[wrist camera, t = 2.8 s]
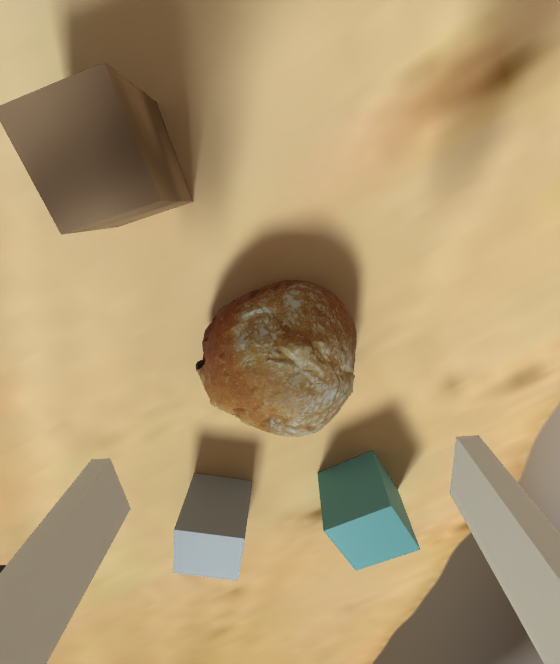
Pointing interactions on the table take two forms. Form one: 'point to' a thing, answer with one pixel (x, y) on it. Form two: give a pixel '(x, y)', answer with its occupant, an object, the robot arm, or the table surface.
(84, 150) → the walnut block
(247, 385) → the bread roll
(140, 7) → the table surface
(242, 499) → the slate grey block
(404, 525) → the dark teal block
